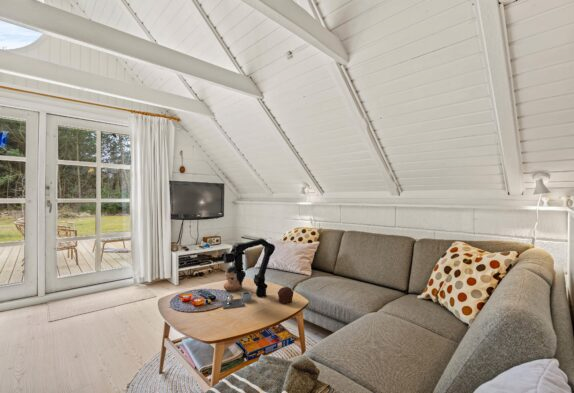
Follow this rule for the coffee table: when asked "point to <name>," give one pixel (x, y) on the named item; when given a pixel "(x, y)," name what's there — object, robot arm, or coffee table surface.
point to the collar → (246, 296)
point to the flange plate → (232, 303)
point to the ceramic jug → (231, 282)
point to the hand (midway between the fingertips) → (239, 282)
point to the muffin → (285, 295)
